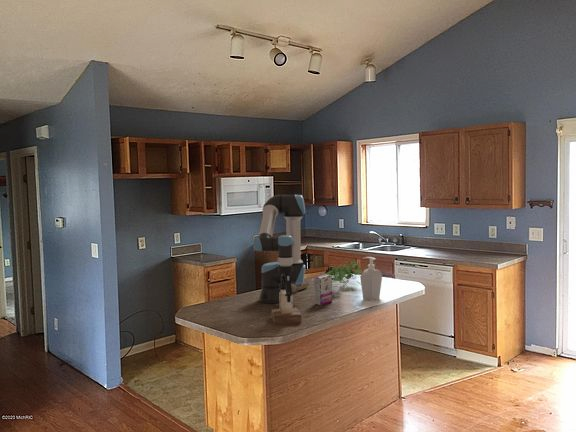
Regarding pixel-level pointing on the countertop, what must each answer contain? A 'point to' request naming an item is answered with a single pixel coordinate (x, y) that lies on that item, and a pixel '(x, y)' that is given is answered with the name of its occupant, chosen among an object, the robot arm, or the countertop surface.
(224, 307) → the countertop surface
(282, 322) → the walnut block
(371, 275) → the soap bottle
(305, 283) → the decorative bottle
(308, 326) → the countertop surface
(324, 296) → the candy bar box
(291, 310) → the ash block
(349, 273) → the plant cuttings
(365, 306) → the countertop surface
